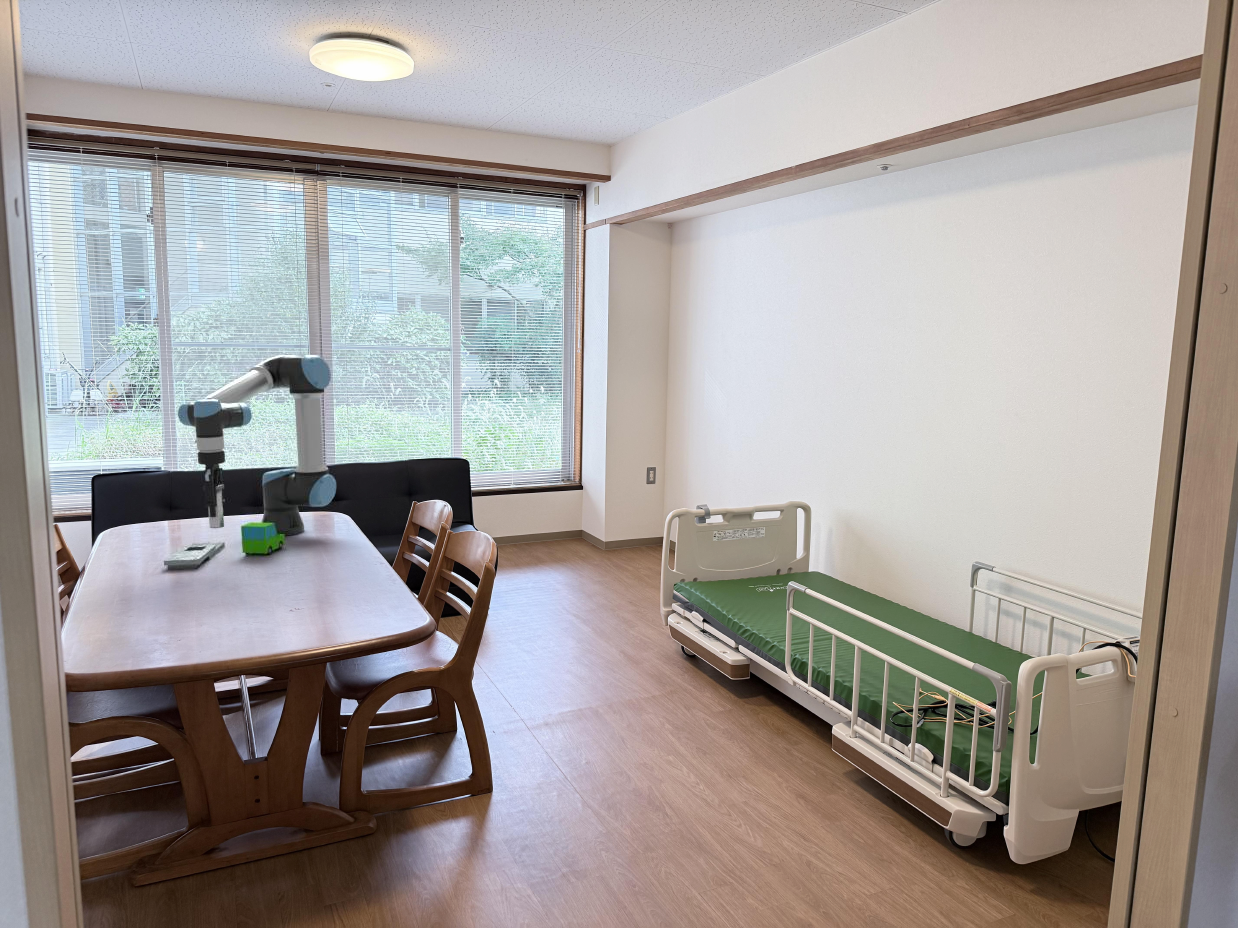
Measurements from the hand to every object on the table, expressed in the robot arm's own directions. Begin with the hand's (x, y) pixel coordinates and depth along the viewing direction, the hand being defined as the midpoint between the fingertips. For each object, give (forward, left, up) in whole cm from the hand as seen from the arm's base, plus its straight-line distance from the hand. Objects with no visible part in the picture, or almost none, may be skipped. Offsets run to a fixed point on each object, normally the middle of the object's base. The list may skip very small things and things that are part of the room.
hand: (216, 525), depth 265 cm
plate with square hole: (+10, -13, -13) cm, 21 cm away
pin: (0, 0, -1) cm, 1 cm away
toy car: (-10, -18, -13) cm, 24 cm away
